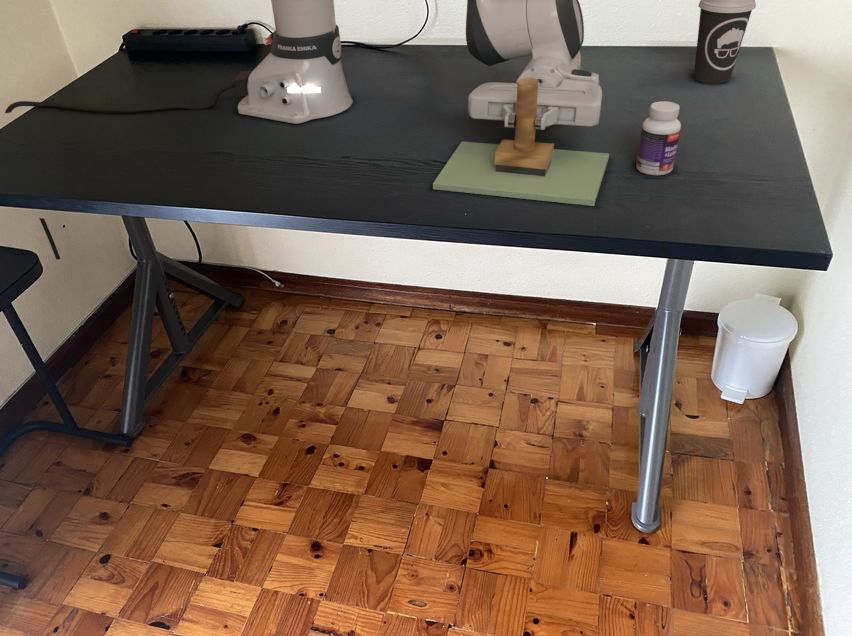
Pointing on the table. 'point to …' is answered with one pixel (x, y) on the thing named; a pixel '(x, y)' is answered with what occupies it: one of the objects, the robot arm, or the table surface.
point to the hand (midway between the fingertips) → (524, 123)
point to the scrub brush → (524, 137)
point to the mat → (524, 176)
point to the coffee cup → (720, 38)
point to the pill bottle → (659, 139)
